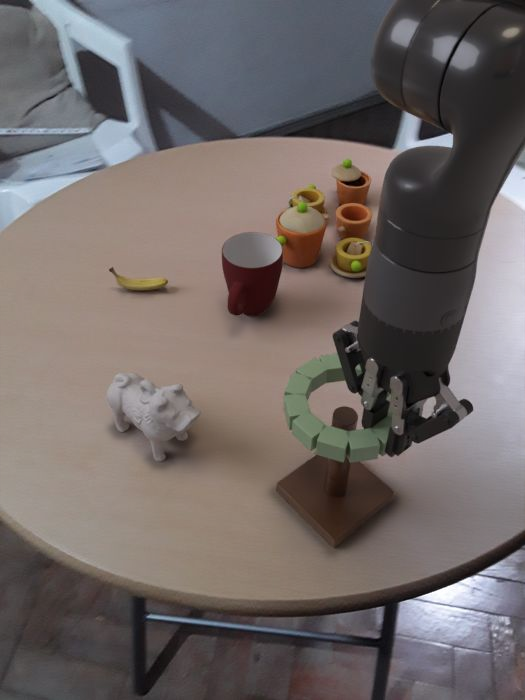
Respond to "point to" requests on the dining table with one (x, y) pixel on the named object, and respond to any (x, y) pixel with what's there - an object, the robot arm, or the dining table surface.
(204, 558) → the dining table surface
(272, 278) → the mug
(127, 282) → the banana
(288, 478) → the holder
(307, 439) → the ring
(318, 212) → the toy tea set
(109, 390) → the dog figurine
